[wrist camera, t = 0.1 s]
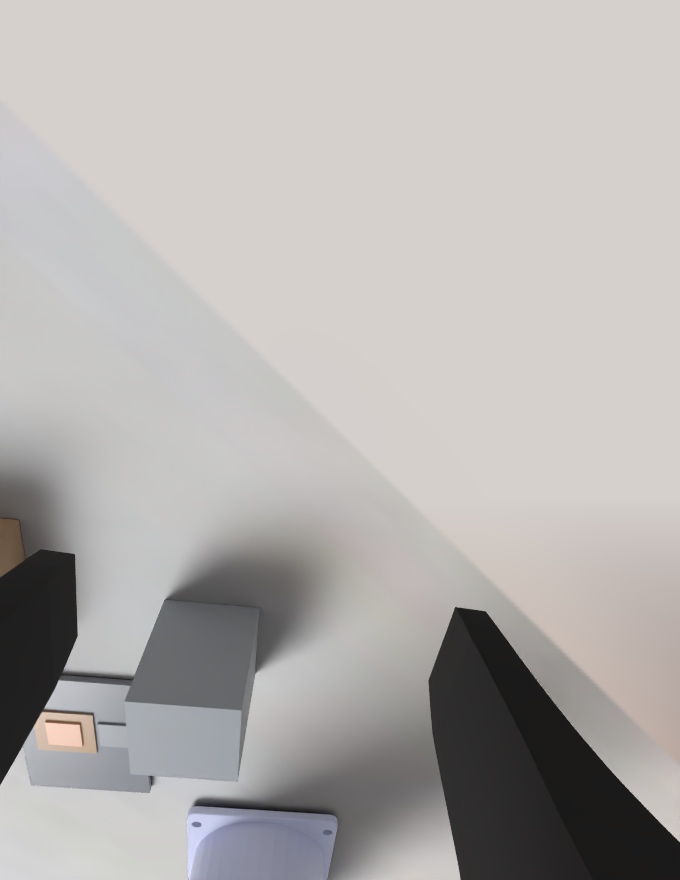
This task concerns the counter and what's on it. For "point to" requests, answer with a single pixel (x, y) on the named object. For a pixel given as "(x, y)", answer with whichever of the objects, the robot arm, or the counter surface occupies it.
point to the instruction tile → (83, 738)
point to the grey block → (193, 692)
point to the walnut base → (10, 545)
